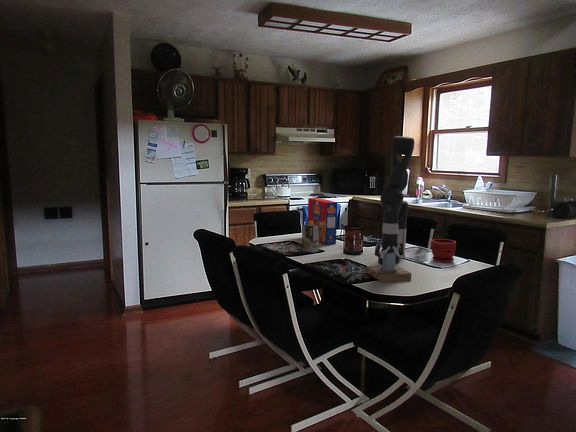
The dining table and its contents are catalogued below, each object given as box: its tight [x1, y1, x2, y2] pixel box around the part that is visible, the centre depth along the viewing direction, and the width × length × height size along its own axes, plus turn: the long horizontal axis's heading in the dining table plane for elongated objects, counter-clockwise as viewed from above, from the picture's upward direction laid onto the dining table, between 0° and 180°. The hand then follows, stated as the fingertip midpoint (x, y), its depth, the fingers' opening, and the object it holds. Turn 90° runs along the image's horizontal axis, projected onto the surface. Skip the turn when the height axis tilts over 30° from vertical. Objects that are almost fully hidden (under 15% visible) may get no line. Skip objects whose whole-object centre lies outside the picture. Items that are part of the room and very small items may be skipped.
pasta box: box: [307, 197, 338, 246], centre depth 286 cm, size 28×8×28 cm, turn 22°
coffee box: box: [301, 223, 320, 253], centre depth 255 cm, size 9×6×16 cm
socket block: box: [365, 264, 412, 283], centre depth 205 cm, size 16×16×4 cm
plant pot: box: [430, 238, 457, 264], centre depth 236 cm, size 13×13×12 cm
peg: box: [382, 252, 396, 272], centre depth 205 cm, size 4×4×12 cm
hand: (388, 264), depth 205 cm, fingers open, 8 cm apart
